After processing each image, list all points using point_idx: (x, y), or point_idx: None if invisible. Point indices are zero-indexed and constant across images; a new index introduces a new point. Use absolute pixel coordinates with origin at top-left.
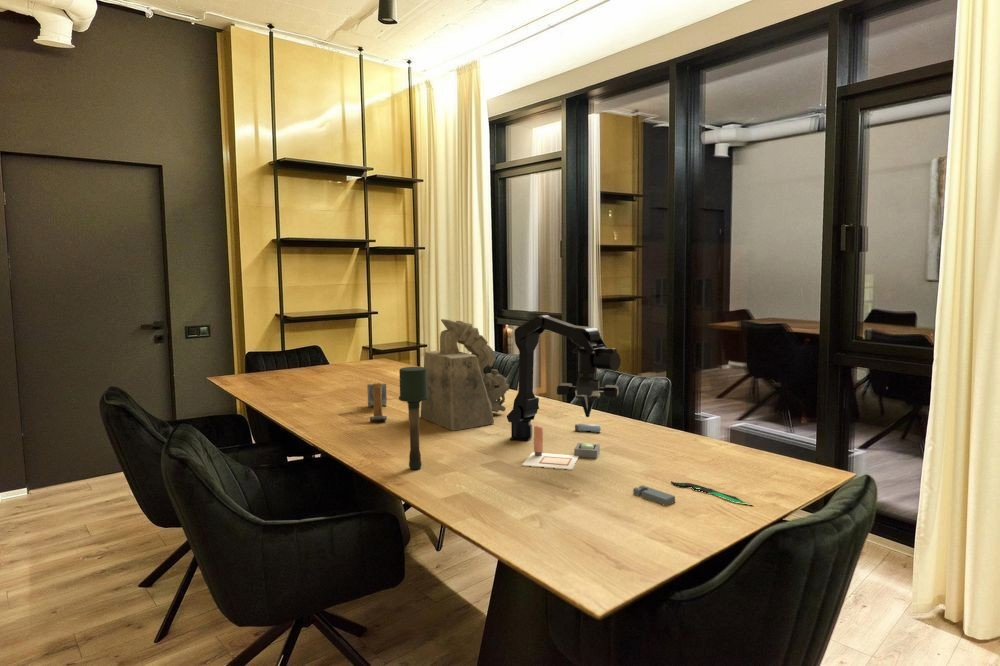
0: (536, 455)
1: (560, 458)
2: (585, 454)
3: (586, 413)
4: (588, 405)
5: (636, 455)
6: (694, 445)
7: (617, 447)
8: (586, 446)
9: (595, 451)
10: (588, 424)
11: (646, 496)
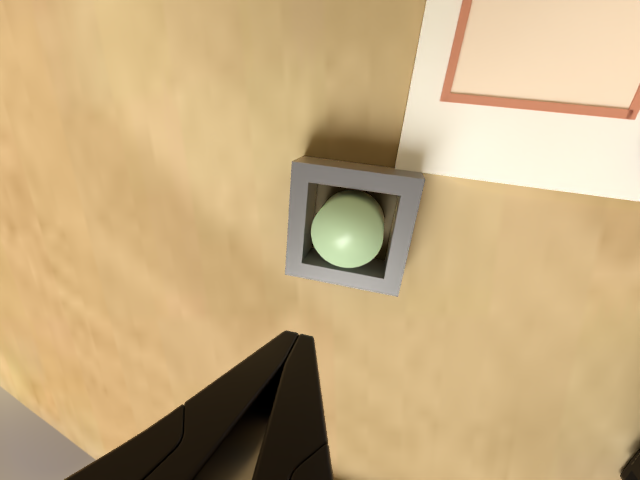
0: None
1: (516, 91)
2: (359, 165)
3: (298, 359)
4: (207, 447)
5: (149, 224)
6: (19, 340)
7: (232, 321)
8: (350, 209)
9: (300, 161)
10: None
11: None
